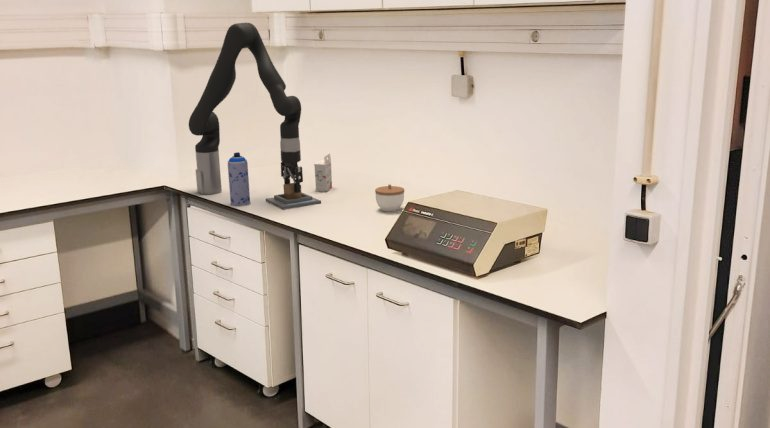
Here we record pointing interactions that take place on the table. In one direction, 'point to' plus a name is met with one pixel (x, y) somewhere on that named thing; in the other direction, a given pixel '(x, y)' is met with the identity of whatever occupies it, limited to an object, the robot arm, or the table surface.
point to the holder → (292, 201)
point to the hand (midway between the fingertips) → (292, 190)
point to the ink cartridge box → (323, 174)
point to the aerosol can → (238, 180)
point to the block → (291, 192)
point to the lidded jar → (389, 197)
